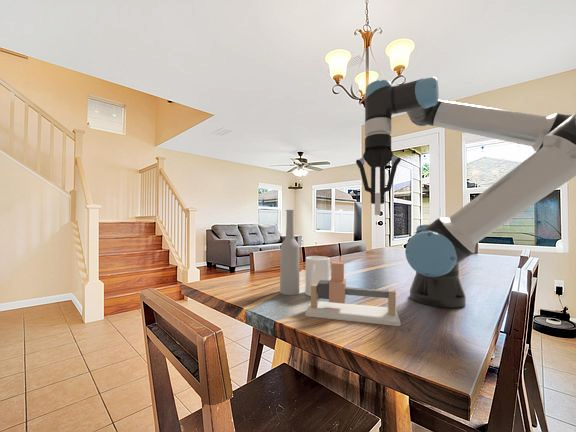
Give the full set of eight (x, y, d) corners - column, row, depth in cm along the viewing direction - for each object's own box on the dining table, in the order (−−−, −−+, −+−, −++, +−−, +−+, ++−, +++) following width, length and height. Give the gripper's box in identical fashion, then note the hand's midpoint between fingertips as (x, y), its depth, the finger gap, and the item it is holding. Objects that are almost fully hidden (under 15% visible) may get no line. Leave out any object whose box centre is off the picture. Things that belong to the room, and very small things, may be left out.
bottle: (275, 292, 92) (276, 209, 91) (290, 288, 96) (290, 210, 96) (289, 296, 87) (289, 209, 87) (303, 292, 91) (303, 209, 91)
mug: (323, 301, 82) (323, 262, 82) (297, 298, 85) (297, 260, 85) (333, 291, 93) (333, 256, 93) (309, 288, 96) (310, 255, 96)
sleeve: (345, 297, 75) (345, 261, 75) (344, 303, 70) (344, 265, 70) (331, 296, 76) (331, 260, 76) (328, 302, 71) (329, 264, 71)
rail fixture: (395, 311, 74) (395, 282, 74) (400, 326, 64) (400, 292, 64) (312, 303, 80) (312, 276, 80) (305, 316, 70) (305, 285, 70)
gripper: (399, 138, 83) (399, 215, 83) (355, 141, 86) (355, 214, 86) (403, 130, 75) (402, 215, 76) (355, 134, 79) (354, 214, 79)
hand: (377, 214), depth 81 cm, fingers closed
